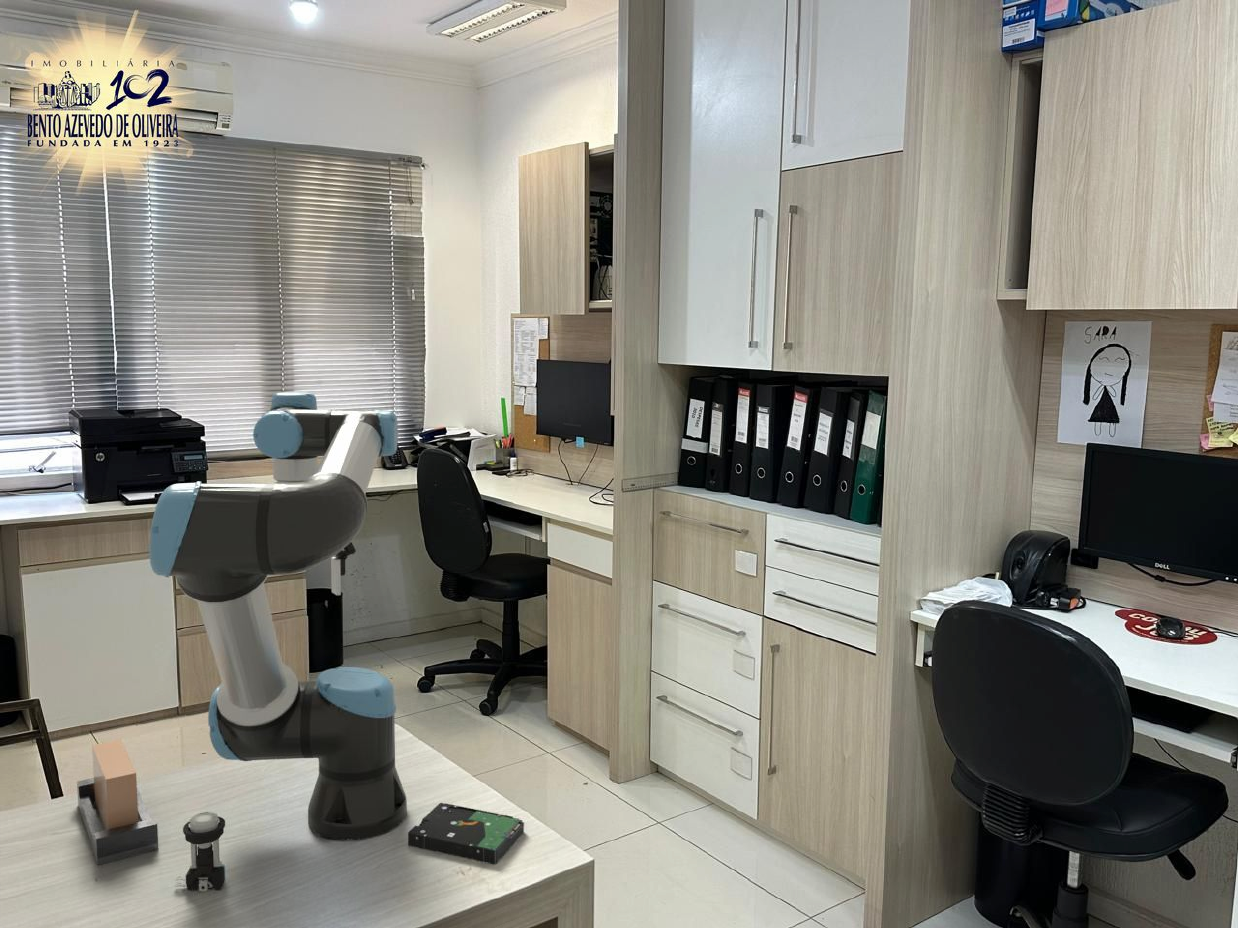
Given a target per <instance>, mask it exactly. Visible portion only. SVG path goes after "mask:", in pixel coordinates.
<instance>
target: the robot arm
mask: <svg viewBox="0 0 1238 928" xmlns="http://www.w3.org/2000/svg"><path fill="white" fill-rule="evenodd" d="M269 410H270V411H267V413H264V414H262V416H261V417H260V418H259V419H258V420H257V421H256V422H255V425H254V428H253V433H252V436H253V441H254V444H255V446H256V448H257V449H258V450H259V451H260V452H261V453H262V454H263V455H264V456H267V457H270V458H272V475H273V480H275V482H274V483H272V482H271V483H269V482H268V483H267V482H265V483H264V482H263V483H262V482H261V483H260V482H258V483H256V482H255V483H251V482H250V483H247V482H246V483H202V481H201V480H200V481H199V480H198V481H196V482H186V483H185V482H184V483H174V484H171V485H169V486H168V487H166V488H165V489H164V490H163V491H162V493H161V495H160V496H159V498H158V501H157V503H156V504H155V505H156V506H155V508H154V513H153V516H152V521H151V527H150V533H149V534H150V535H149V553H148V554H149V563H150V567H151V570H152V571H153V573H154V574H155V575H157V576H162V577H163V576H164V577H165V578H169V577H176V581H177V584H178V586H179V589H180V590H181V591H182V593H183V594H184V595H186V596H187V597H188V598H190V599H191V600H194V601H196V602H197V605H198V609H199V612H200V615H201V619H202V622H203V625H204V627H205V631H206V634H207V638H208V641H209V644H210V647H211V651H212V654H213V657H214V661H215V664H216V667H217V670H218V673H219V677H220V680H221V683H220V684H219V685H218V686H217V687H216V688H215V690H214V691H213V693H212V695H211V698H210V702H209V706H208V714H207V715H208V717H207V718H208V719H207V721H208V726H209V733H208V734H209V738H210V741H211V745H212V747H213V749H214V750H215V752H216V753H217V754H218V756H220V757H221V758H223V759H224V760H230V761H231V760H232V761H241V762H242V761H243V762H251V761H263V760H264V761H267V760H293V759H318V776H317V779H316V782H315V785H314V787H313V788H314V789H313V791H312V795H311V798H310V801H309V803H308V809H307V821H308V826H309V828H310V830H311V831H312V832H313V833H314V834H317V835H319V836H321V837H323V838H327V839H330V840H336V841H337V840H338V841H357V840H365V839H370V838H373V837H374V838H375V837H377V836H378V837H379V836H381V835H383V834H386V833H389V832H390V831H392V830H394V829H396V828H397V827H398V826H399V825H400V824H402V822H403V821H404V820H405V819H406V817H407V813H408V812H407V809H408V807H407V806H408V805H407V804H408V801H407V795H406V792H405V790H404V787H403V784H402V782H401V779H400V776H399V774H398V770H397V768H396V733H395V732H396V731H395V729H396V728H395V722H396V721H395V714H396V712H397V706H396V702H395V689H394V686H393V683H392V682H391V680H390V679H389V678H388V677H387V676H385V675H383V674H381V673H380V672H378V671H375V670H372V669H368V668H364V667H355V666H340V667H337V668H329V669H325V670H323V671H322V672H320V673H319V675H318V676H317V678H316V680H313V681H310V680H309V681H307V680H305V681H304V680H302V681H301V680H300V681H298V678H297V676H296V674H295V672H294V671H293V669H292V668H290V666H288V665H287V664H285V663H283V659H282V655H281V651H280V648H279V642H278V638H277V635H276V629H275V626H274V621H273V617H272V612H271V608H270V604H269V600H268V596H267V595H268V594H267V590H266V587H265V582H266V580H267V579H268V577H269V576H275V575H277V576H278V575H279V576H281V575H282V576H285V575H293V574H298V573H301V572H305V571H307V570H310V569H313V568H315V567H317V566H319V565H321V564H323V563H325V562H327V561H328V560H330V565H331V566H330V569H331V571H330V572H331V573H330V575H331V593H332V594H334V595H335V596H341V595H342V588H341V582H342V581H341V577H342V576H345V574H346V560H347V559H348V556H350V555H355V554H356V552H357V551H356V547H355V546H354V543H353V542H352V541H353V540H354V539H355V538H356V537H357V536H358V535H359V532H361V530H362V529H363V528H362V527H363V525H364V523H365V520H366V517H367V513H368V505H369V504H368V499H367V496H366V493H367V492H368V491H367V490H368V488H369V484H370V481H371V478H372V476H373V474H374V471H375V467H376V464H377V460H378V458H381V457H382V458H383V457H389V456H390V457H391V456H394V455H395V454H396V453H397V450H398V444H399V443H398V442H399V440H398V439H399V431H398V430H399V427H398V425H399V424H398V423H399V422H398V418H397V417H398V416H397V415H396V414H395V412H393V411H390V410H377V409H371V410H370V409H366V410H365V409H351V410H350V409H318V404H317V397H316V395H315V394H314V393H310V392H303V391H301V392H300V391H294V392H291V391H286V392H285V391H284V392H276V393H274V394H273V395H272V396H271V406H270V409H269ZM319 456H323V457H322V460H321V461H320V463H319Z"/></svg>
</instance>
